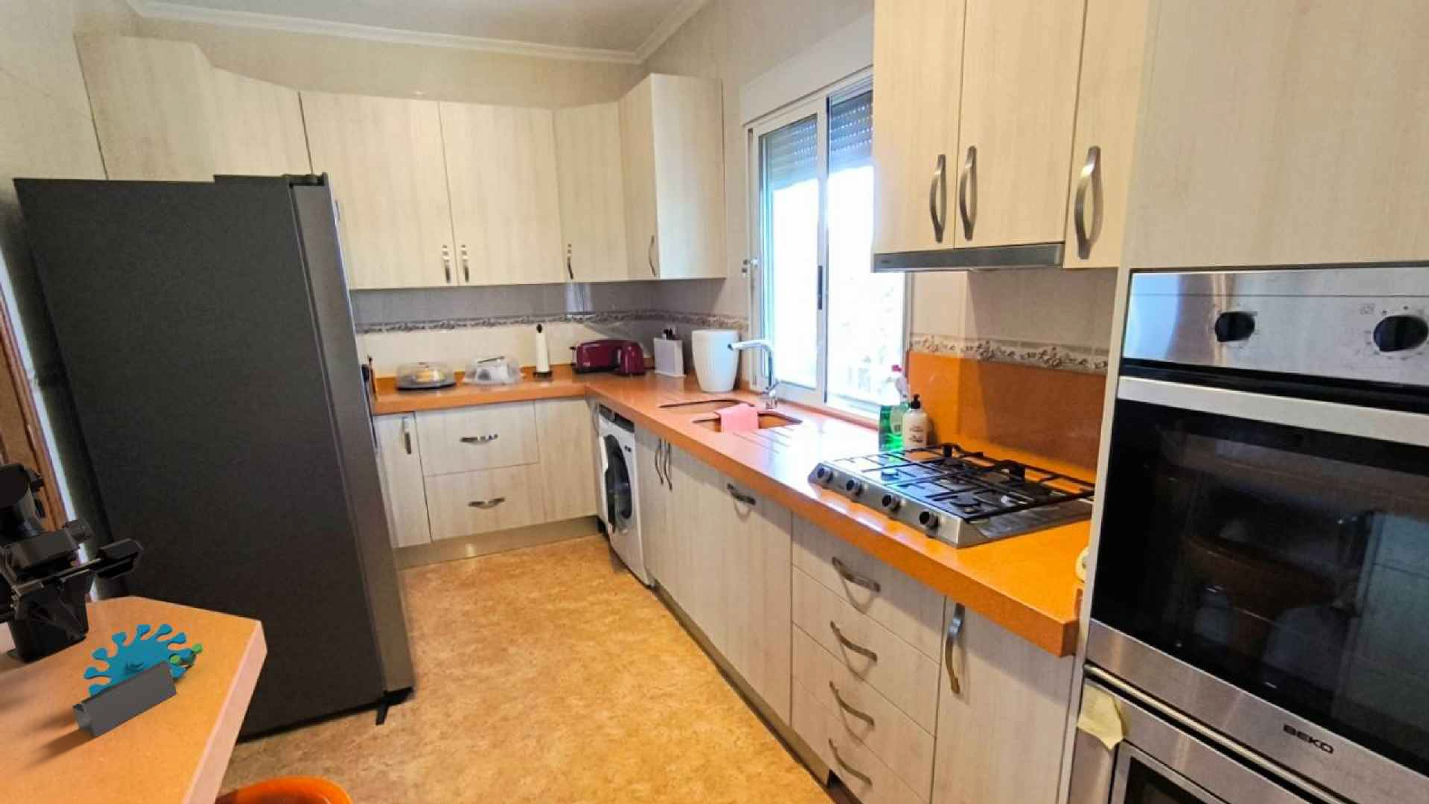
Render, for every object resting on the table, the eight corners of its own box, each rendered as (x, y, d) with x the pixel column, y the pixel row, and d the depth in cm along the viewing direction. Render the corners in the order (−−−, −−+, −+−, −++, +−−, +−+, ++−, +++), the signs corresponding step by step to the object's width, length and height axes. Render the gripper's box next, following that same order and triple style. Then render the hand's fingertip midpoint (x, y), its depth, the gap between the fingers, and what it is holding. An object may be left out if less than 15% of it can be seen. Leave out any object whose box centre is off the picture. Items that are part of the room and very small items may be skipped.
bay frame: (79, 728, 71) (68, 695, 70) (159, 686, 78) (150, 655, 77) (95, 737, 70) (85, 703, 69) (177, 693, 76) (168, 662, 76)
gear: (75, 715, 71) (88, 631, 76) (89, 726, 75) (100, 646, 80) (198, 687, 77) (203, 611, 82) (205, 699, 81) (209, 626, 86)
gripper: (-87, 540, 70) (-13, 645, 68) (119, 484, 86) (182, 567, 85) (-91, 590, 75) (-22, 689, 73) (105, 528, 91) (164, 607, 89)
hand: (84, 633), depth 80 cm, fingers closed
